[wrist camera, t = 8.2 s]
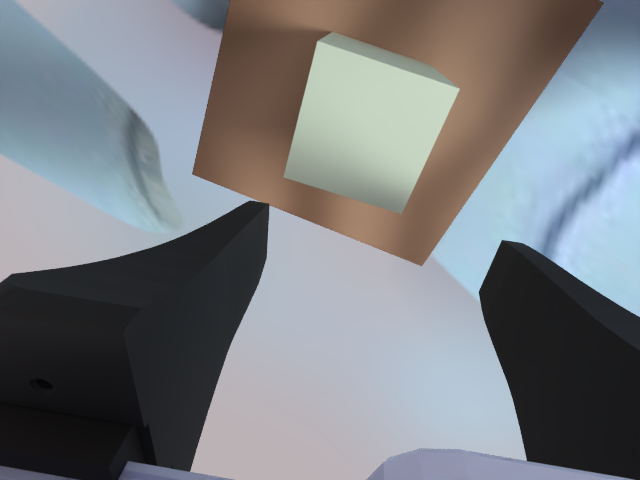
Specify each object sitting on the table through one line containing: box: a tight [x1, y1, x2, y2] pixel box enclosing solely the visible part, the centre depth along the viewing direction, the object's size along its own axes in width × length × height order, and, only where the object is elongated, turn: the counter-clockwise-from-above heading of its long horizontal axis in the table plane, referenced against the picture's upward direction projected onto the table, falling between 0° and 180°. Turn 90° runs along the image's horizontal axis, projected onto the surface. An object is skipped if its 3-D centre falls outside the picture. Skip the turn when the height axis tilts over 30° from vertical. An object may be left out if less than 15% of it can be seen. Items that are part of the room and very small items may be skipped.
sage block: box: [283, 32, 460, 214], centre depth 15 cm, size 4×4×6 cm
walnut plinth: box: [192, 0, 603, 266], centre depth 18 cm, size 14×14×2 cm
